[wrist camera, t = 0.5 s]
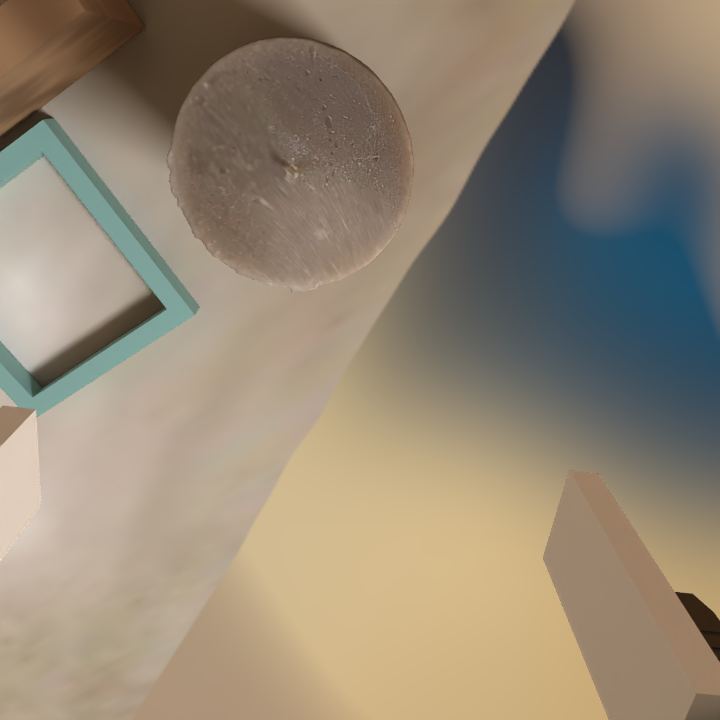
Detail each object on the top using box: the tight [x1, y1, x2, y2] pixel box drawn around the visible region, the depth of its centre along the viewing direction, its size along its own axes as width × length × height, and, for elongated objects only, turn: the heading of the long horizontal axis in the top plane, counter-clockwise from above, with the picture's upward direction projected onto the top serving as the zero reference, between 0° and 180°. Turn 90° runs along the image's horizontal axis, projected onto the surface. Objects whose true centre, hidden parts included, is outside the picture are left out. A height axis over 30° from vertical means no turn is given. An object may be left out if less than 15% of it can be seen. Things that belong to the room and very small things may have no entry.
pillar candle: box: [167, 37, 413, 292], centre depth 32 cm, size 10×10×15 cm
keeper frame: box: [0, 118, 200, 418], centre depth 41 cm, size 13×13×2 cm
